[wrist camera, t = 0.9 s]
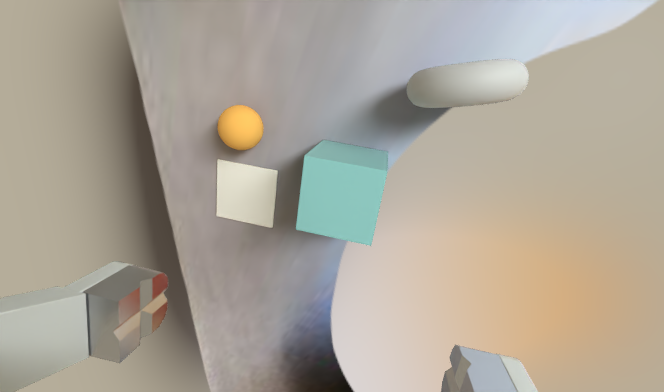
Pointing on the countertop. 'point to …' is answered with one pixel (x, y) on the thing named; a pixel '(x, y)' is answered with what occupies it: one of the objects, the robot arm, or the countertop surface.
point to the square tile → (246, 193)
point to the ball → (240, 127)
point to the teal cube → (342, 191)
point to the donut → (468, 83)
